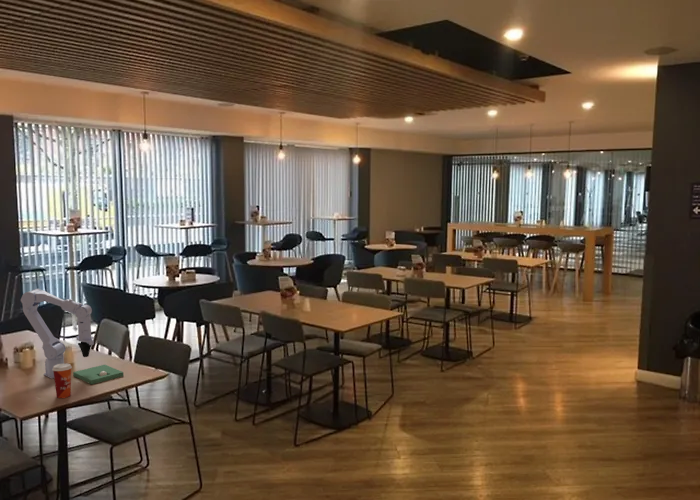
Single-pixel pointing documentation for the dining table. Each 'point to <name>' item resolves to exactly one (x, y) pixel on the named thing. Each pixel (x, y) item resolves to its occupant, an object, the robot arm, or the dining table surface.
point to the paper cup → (62, 380)
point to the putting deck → (97, 374)
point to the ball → (103, 373)
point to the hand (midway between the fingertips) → (85, 356)
